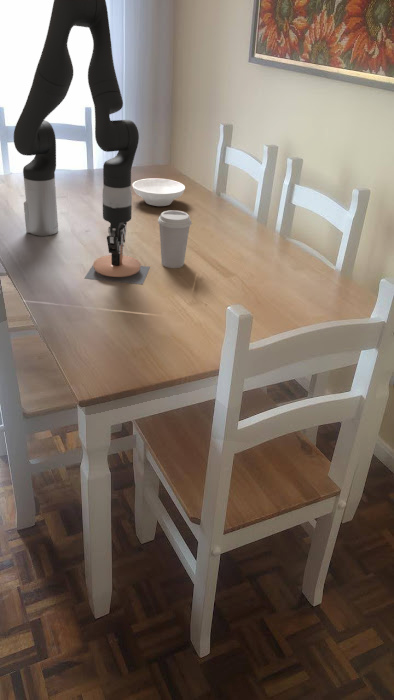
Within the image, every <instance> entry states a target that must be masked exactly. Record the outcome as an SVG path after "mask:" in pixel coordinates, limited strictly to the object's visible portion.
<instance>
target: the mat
mask: <svg viewBox="0 0 394 700" xmlns="http://www.w3.org/2000/svg"><path fill="white" fill-rule="evenodd" d="M150 268H151V266H147V265H141V269H140V271H139V272H138V273H136V274H134V275H131V276H126V277H110V276H105V275H102V274H100V273H98V272H96V271H95V270H94V268H93V264H92V266H91V267H90V268H89V270H88V271H87V273H86V275H85V277H84V279H86V280H87V279H88V280H96V281H105V282H116V283H124V284H125V283H126V284H135V285H144V282H145V280H146V278H147V275H148V273H149V270H150Z"/></svg>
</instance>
